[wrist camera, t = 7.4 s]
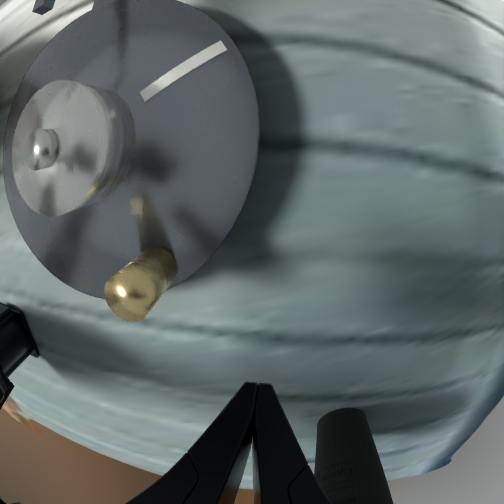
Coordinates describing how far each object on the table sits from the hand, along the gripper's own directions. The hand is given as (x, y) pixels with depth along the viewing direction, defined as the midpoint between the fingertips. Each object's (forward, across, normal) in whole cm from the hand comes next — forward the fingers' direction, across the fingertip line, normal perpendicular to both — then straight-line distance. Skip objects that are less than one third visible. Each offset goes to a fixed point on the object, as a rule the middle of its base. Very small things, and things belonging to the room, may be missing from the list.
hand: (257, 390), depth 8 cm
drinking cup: (+10, -8, +16) cm, 21 cm away
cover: (+8, +11, -8) cm, 15 cm away
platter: (+9, +11, -8) cm, 16 cm away
